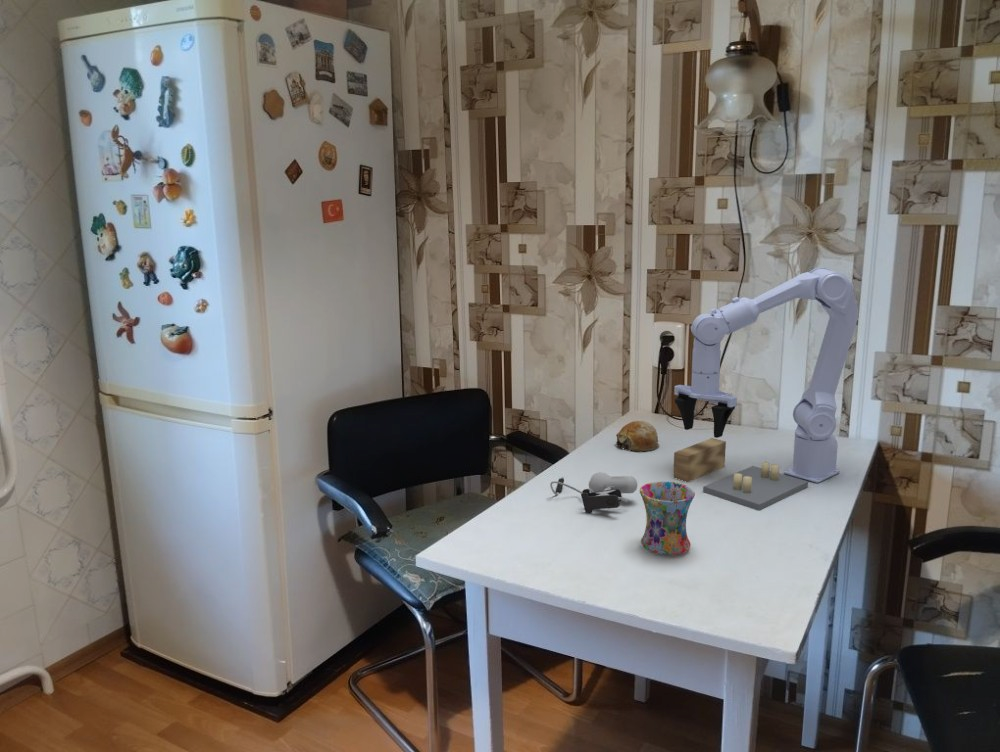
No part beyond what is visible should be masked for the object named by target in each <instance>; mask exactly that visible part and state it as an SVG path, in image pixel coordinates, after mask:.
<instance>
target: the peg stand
mask: <svg viewBox="0 0 1000 752" xmlns="http://www.w3.org/2000/svg"><path fill="white" fill-rule="evenodd" d="M808 487H809V480H805V479H802V478H798V477H795V476H791V475H788V474H785V473H780V465H778V464H771V465H770V462H768V461H762V462H761V467H759V466H754V465H751V466H748V467H746V468H745V469H742V470H739V471H737V472H735V473H732V474H730V475H727V476H725V477H723V478H720V479H718V480H715V481H713V482H710V483H707V484H706V485H703V486H702V488H703V489H702V492H703V491H704V492H703V493H705V492H706V494H708V493H709V494H708V495H711V494H712V495H711V496H714V495H715V496H714V497H717V496H718V497H717V498H721V499H723V500H727V501H729V502H732V503H736V504H737V505H738V504H739V505H741V506H745V507H747V508H751V509H754V510H757V511H761V510H763V509H765V508H768V507H769V506H771V505H773V504H775V503H777V501H778V502H779V501H782V500H783V499H785V498H788V497H789V496H793V495H794V494H796V493H798V492H801V491H802V490H805V489H807V488H808ZM768 505H769V506H768Z"/></svg>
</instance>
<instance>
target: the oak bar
mask: <svg viewBox="0 0 1000 752" xmlns="http://www.w3.org/2000/svg"><path fill="white" fill-rule="evenodd" d="M726 441H727V440H726ZM726 441H724V440H721V439H718V438H715V437H712V438H708V439H705V440H704V441H700V442H698V443H696V444H692V445H690V446H687V447H685V448H682V449H679V450H677V451H674V452H673V474H672V475H673V477H674V478H673V479H675V478H677V479H676V480H678V479H680V480H679V481H681V480H683V481H682V482H685V481H686V482H685V483H689V482H691V481H690V480H692V481H694V480H696V479H699V478H701V477H704V476H705V474H706V475H708V474H710V473H713V472H715V471H718V470H719V469H721V468H724V467H726V466H725V465H726V464H725V463H726V449H727V448H726V447H727V445H726V444H727V442H726ZM712 471H713V472H712ZM707 473H708V474H707ZM700 476H701V477H700ZM698 477H699V478H698ZM695 478H696V479H695ZM693 479H694V480H693ZM688 481H689V482H688Z"/></svg>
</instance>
